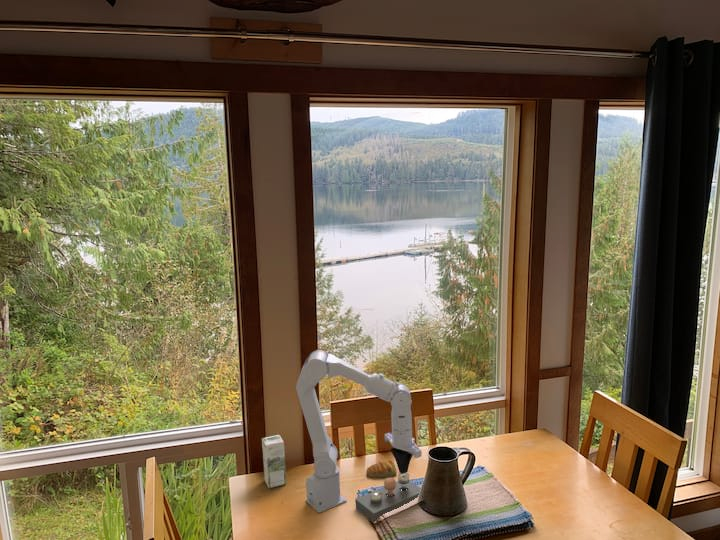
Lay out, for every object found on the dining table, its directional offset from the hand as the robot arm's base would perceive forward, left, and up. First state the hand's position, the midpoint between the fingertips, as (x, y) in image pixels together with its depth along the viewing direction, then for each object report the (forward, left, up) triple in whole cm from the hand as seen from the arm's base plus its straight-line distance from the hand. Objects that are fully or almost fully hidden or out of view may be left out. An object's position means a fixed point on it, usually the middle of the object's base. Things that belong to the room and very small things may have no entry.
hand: (403, 472), depth 154 cm
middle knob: (-5, 0, -6) cm, 8 cm away
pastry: (+4, +16, -9) cm, 18 cm away
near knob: (-10, 0, -8) cm, 13 cm away
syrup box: (-26, +32, -8) cm, 42 cm away
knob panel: (-5, 0, -8) cm, 10 cm away
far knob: (0, 0, -6) cm, 6 cm away
